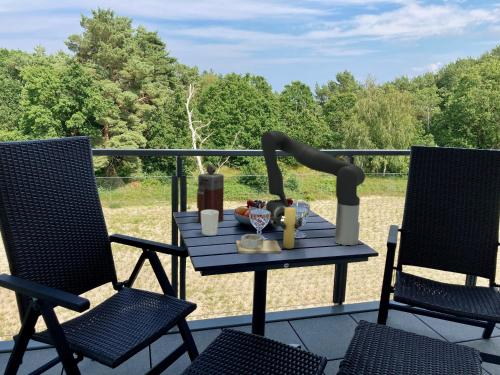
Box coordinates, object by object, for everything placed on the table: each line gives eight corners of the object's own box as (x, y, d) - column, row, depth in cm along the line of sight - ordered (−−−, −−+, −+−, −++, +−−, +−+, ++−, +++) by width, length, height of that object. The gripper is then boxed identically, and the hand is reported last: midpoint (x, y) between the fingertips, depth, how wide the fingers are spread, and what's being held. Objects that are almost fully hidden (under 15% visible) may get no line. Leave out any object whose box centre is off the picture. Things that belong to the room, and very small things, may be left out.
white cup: (202, 236, 190) (202, 214, 188) (199, 231, 197) (199, 209, 195) (219, 235, 192) (220, 213, 190) (216, 230, 199) (216, 209, 197)
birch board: (276, 242, 184) (276, 240, 184) (281, 253, 171) (281, 250, 171) (236, 242, 182) (236, 240, 182) (238, 253, 170) (238, 251, 169)
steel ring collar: (261, 242, 181) (261, 234, 180) (264, 249, 173) (264, 240, 172) (240, 242, 180) (240, 234, 179) (242, 249, 172) (242, 240, 171)
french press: (194, 222, 211) (194, 165, 205) (209, 217, 220) (209, 162, 214) (208, 225, 206) (209, 167, 200) (223, 220, 215) (224, 164, 210)
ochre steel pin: (292, 244, 180) (294, 207, 177) (295, 248, 176) (296, 209, 173) (282, 244, 180) (283, 207, 177) (284, 248, 176) (285, 210, 172)
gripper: (267, 207, 189) (273, 218, 172) (299, 207, 190) (308, 218, 174) (267, 224, 190) (272, 236, 174) (299, 224, 192) (308, 236, 175)
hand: (290, 227), depth 174 cm, fingers closed on ochre steel pin, 4 cm apart
